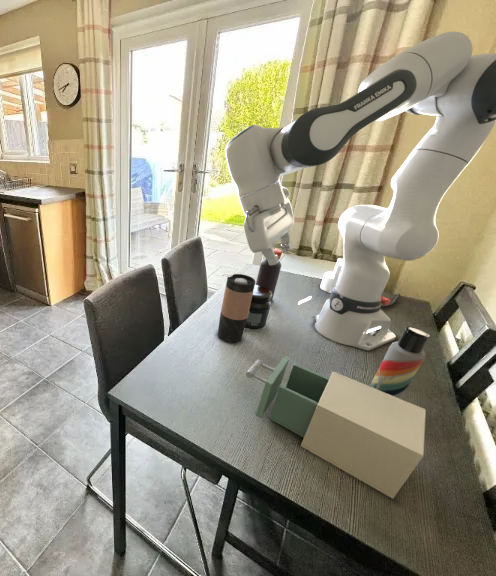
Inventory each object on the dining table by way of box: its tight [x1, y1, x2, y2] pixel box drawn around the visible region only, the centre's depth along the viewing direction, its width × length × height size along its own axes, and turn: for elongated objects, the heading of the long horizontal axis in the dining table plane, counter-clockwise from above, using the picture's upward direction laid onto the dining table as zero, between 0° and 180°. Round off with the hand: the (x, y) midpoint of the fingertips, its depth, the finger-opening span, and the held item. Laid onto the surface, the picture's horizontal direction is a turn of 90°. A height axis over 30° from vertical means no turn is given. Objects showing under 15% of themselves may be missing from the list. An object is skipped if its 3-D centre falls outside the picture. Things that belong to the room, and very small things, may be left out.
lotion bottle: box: [369, 326, 430, 400], centre depth 68 cm, size 6×6×20 cm
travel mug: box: [217, 273, 256, 345], centre depth 91 cm, size 8×8×20 cm
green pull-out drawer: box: [245, 356, 330, 439], centre depth 67 cm, size 18×11×10 cm, turn 46°
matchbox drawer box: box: [300, 371, 427, 500], centre depth 59 cm, size 15×13×12 cm
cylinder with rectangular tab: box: [319, 257, 343, 294], centre depth 122 cm, size 9×9×12 cm
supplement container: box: [245, 284, 272, 331], centre depth 100 cm, size 10×10×12 cm
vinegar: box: [255, 247, 283, 303], centre depth 113 cm, size 7×7×20 cm
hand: (281, 256), depth 72 cm, fingers open, 8 cm apart
